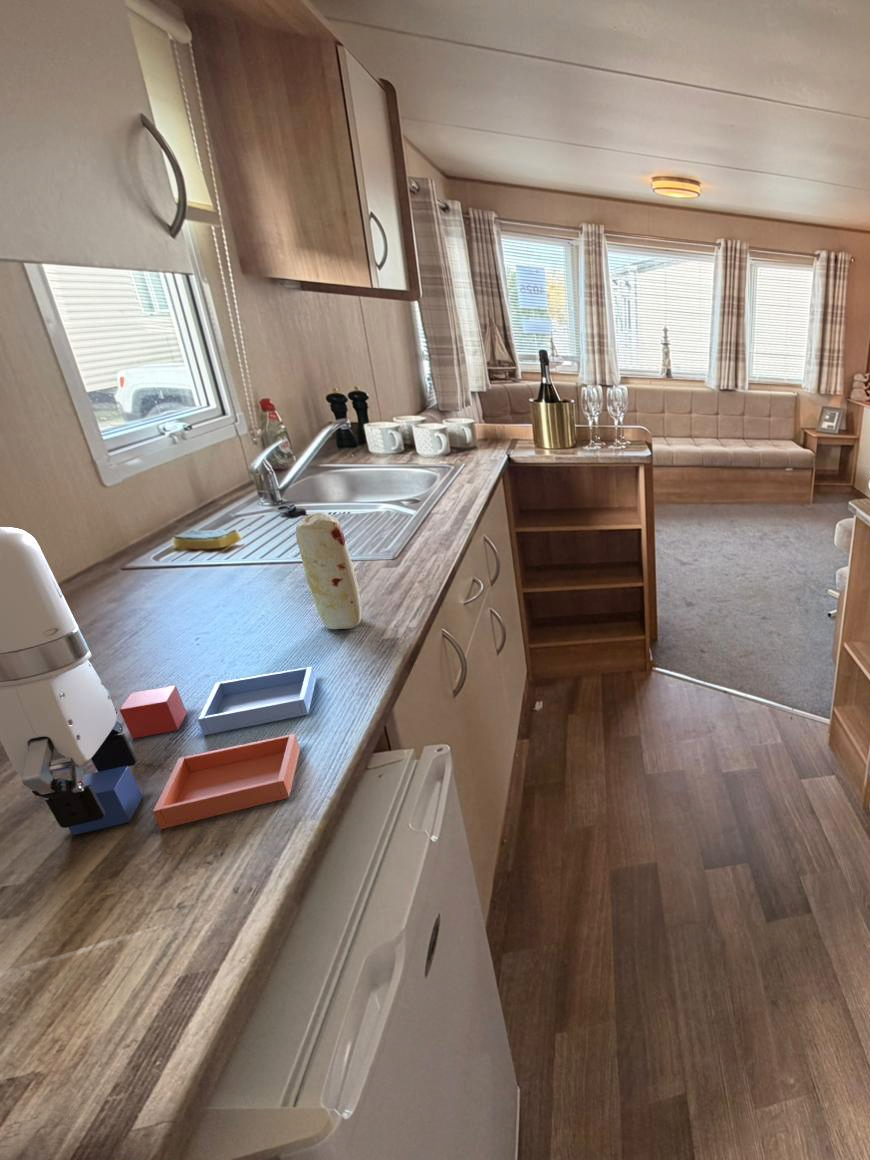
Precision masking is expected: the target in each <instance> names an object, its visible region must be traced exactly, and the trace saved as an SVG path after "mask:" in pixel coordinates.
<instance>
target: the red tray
mask: <svg viewBox="0 0 870 1160" xmlns="http://www.w3.org/2000/svg"><path fill="white" fill-rule="evenodd" d="M300 752H301V748H300V744H299V741H298V738H297V735H296V733H290V734H287V735H286V734H285V735H282V736H277V737H271V738H268V739H262V740H258V741H252V742H250V743H244V744H238V745H234V746H229V747H223V748H220V749H215V750H209V751H204V752H201V753H195V754H190V755H186V756H180V757H178V758H177V761H176V763H175V765H174V767H173V769H172V771H171V772H170V775H169V777H168V779H167V781H166V783H165V786H164V787H163V789H162V791H161V794H160V796H159V798H158V800H157V801H156V804H155V806H154V807H153V810H152V814H153V816H154V819H155V820H156V822H157V825H158V826H159V828H160V830H164V829H168V828H172V827H176V826H180V825H184V824H188V823H193V822H196V821H200V820H204V819H205V820H206V819H209V818H212V817H215V816H220V815H225V814H229V813H232V812H233V813H234V812H237V811H241V810H245V809H248V808H254V807H257V806H260V805H265V804H269V803H273V802H277V801H282V800H284V799H285V800H286V799H289V798H290V795H291V791H292V787H293V783H294V779H295V775H296V770H297V766H298V761H299V757H300Z"/></svg>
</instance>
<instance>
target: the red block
mask: <svg viewBox="0 0 870 1160" xmlns="http://www.w3.org/2000/svg"><path fill="white" fill-rule="evenodd" d="M119 713H120V715H121V717H122V719H123V721H124V724H125V726H126V728H127V731H128V732H129V735H130V737H131V739H132V740H134V739H138V738H139V739H140V738H143V737H149V736H153V735H160V734H165V733H170V732H174V731H178V730H179V729H180V727H181V725H182V723H183V722H184V720H185V718H186V716H187V714H188V712H187V709H186V707H185V705H184V702H183V699H182V697H181V695H180V692H179V689H178V687H177V685H176V684H175V685H169V686H163V687H158V688H152V689H146V690H139V691H134V692H131V693H130V694H129V695H128V697H126V699H125V701H124V703H123V704H122V705H121V707H120V708H119Z"/></svg>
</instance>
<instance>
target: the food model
mask: <svg viewBox="0 0 870 1160" xmlns="http://www.w3.org/2000/svg"><path fill="white" fill-rule="evenodd" d="M342 528H343V527H342V526H341V523H340V522H339V520H338V519H337V518H336V517H334V515H331V514H327V513H324V512H316V513H312V514H309V515H306V516H305V517H304V518H303V519H302V521H301V525H299V524H296V525H295V532H294V533H295V538H296V543H297V546H298V549H299V553H300V557H301V558H300V559H301V562H302V565H303V569H304V573H305V576H306V580H307V583H308V586H309V589H310V592H311V595H312V599H313V602H314V605H315V607H316V610H317V614H318V616H319V619H320V621H321V622H322V624H323V625H324V627H326V628H327V629H329V630H343V629H345V630H346V629H347V630H348V629H353V628H354V627H357V626H358V625H359V624H360V623H361V620H362V607H361V605H362V604H361V595H360V589H359V584H358V579H357V576H356V575H357V574H356V571H355V569H354V564H353V562H352V558H351V555H350V550H349V547H348V543H347V540H346V538H345V535H344V532H343V529H342Z"/></svg>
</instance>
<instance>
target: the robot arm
mask: <svg viewBox="0 0 870 1160" xmlns="http://www.w3.org/2000/svg"><path fill="white" fill-rule="evenodd" d="M90 658H92V653H91V651H90V649H89V646H88V644H87V642H86V640H85V638H84V636H83V634H82V632H81V630H80V628H79V625H78V623H77V622H76V620H75V617H74V616H73V613H72V611H71V609H70V607H69V605H68V603H67V601H66V598H65V596H64V595H63V592H62V590H61V588H60V586H59V584H58V582H57V579H56V578H55V575H54V573H53V571H52V569H51V568H50V565H49V563H48V561H47V559H46V557H45V555H44V553H43V551H42V549H41V547H40V545H39V543H38V541H37V539H36V538H35V537H34V536H33V535H31V534H30V533H29V532H27V531H25V530H23V529H19V528H17V527H7V526H0V742H1V745H2V747H3V749H4V751H5V753H6V755H7V757H8V759H9V761H10V763H11V765H12V767H13V768H14V770H15V772H16V773H17V775H18V776H20V777H21V783H22V784H23V785H24V786H25V787H27V788H28V789H30V790H31V793H32V794H33V795H34V796H36V797H39V800H41V801H45V803H46V804H47V806H48V808H49V809H50V811H51V813H52V816H53V817H54V819H55V820H56V822H57V824H58V825H59V827H60V828H61V829H66V828H68V827H71V826H76V825H80V824H84V823H88V822H92V821H96V820H100V819H102V818H103V817H104V815H105V811H104V809H103V807H102V805H101V803H100V801H99V799H98V798H97V796H96V794H95V792H94V790H93V788H92V786H91V785H86V786H85V785H84V775H85V771H84V765H85V764H86V763H89V761H90V760H91V761H92V763H93V766H94V767H95V769H96V772H100V771H105V770H109V769H114V768H119V767H124V766H129V767H133V766H135V765H136V763H137V761H138V759H137V757H136V755H135V753H134V751H133V748H132V747H131V745H130V742H129V740H128V739H127V736H126V734H125V733H123V732H124V726H123V724H122V723H121V722H119V721H117V719H118V716H117V714H118V711H117V708H115V706H114V703H113V701H112V698H111V693H110V690H109V689H108V688H106V687H105V686H104V683H103V682H102V680H101V678H100V677H99V675H98V672H96V670H95V668H94V667H93V665H92V664H91V662H90V660H89V659H90ZM62 759H66V760H69V761H64V762H59V763H54V764H52V762H53V761H57V760H62ZM65 771H69V780H68V779H64V778H60V777H59V778H54V775H53V774H55V773H60V772H65Z"/></svg>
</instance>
